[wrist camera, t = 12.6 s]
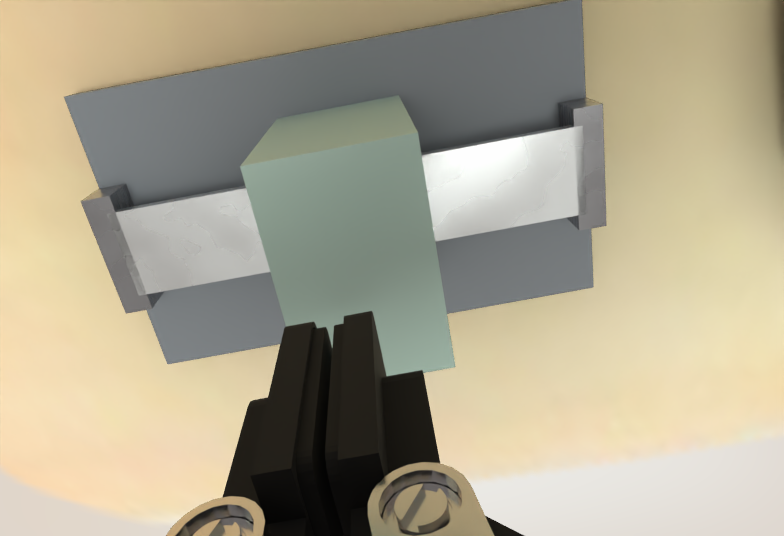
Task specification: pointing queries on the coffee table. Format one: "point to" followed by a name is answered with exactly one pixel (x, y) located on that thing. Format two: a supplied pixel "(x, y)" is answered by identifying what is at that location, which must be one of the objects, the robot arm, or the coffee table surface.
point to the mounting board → (334, 89)
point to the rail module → (352, 227)
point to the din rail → (445, 193)
